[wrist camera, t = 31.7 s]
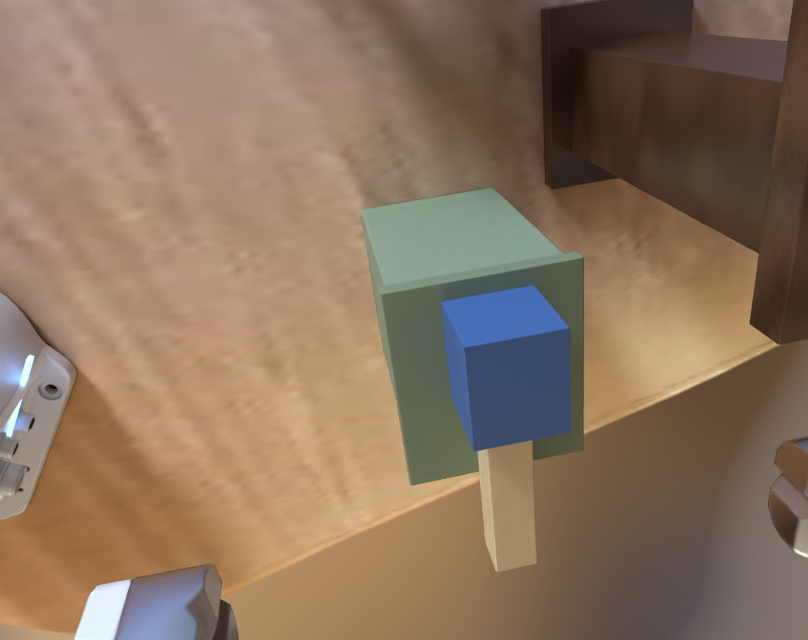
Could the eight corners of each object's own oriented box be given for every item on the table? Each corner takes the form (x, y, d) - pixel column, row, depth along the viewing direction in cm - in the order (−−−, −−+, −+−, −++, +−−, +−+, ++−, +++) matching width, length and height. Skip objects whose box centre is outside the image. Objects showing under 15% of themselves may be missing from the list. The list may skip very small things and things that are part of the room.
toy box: (506, 331, 54) (583, 450, 39) (379, 355, 53) (410, 486, 38) (497, 180, 48) (584, 256, 33) (353, 205, 47) (380, 293, 33)
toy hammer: (541, 529, 42) (571, 591, 37) (466, 544, 41) (487, 610, 37) (534, 284, 34) (570, 327, 29) (441, 301, 33) (463, 347, 29)
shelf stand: (670, 169, 49) (977, 306, 27) (545, 191, 49) (756, 350, 26) (682, -21, 43) (1088, -44, 21) (539, 0, 43) (806, -1, 20)
